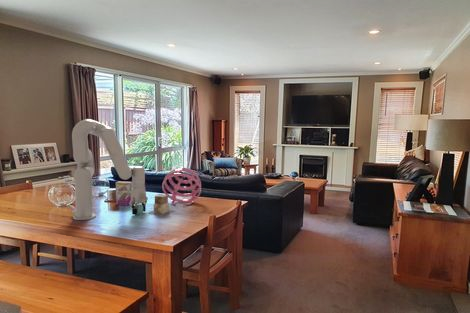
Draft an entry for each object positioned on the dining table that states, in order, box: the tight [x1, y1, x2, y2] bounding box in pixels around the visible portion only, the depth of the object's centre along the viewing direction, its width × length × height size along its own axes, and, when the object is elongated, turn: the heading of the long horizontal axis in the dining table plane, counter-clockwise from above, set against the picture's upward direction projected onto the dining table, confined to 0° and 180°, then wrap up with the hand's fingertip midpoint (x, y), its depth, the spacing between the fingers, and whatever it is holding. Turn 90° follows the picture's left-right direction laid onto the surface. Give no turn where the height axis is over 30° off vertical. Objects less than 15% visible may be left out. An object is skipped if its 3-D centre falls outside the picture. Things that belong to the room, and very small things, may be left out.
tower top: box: [154, 193, 169, 205], centre depth 210 cm, size 6×6×5 cm
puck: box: [136, 203, 144, 216], centre depth 205 cm, size 5×5×6 cm
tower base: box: [153, 201, 170, 214], centre depth 211 cm, size 7×7×6 cm
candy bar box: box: [115, 180, 133, 206], centre depth 230 cm, size 11×5×16 cm, turn 84°
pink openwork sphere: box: [161, 167, 202, 206], centre depth 234 cm, size 28×28×27 cm
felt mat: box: [145, 209, 176, 217], centre depth 211 cm, size 14×14×1 cm
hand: (138, 212), depth 205 cm, fingers open, 7 cm apart
